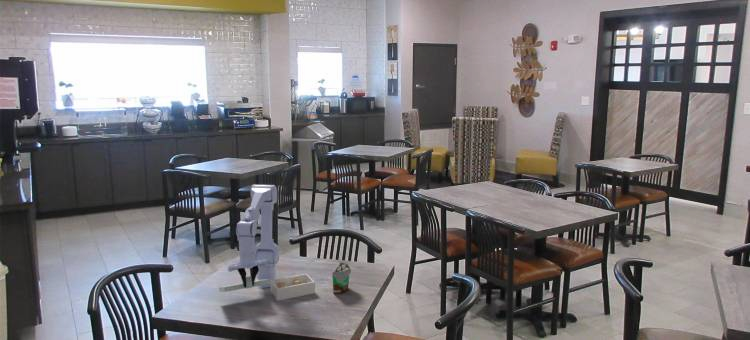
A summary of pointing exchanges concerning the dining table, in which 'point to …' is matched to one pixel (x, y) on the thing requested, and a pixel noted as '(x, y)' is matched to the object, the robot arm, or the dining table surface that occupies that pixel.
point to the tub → (292, 286)
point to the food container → (341, 278)
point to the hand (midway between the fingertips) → (248, 285)
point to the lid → (240, 286)
